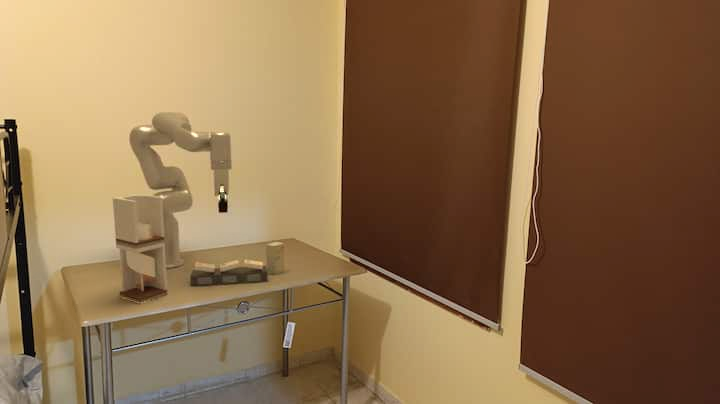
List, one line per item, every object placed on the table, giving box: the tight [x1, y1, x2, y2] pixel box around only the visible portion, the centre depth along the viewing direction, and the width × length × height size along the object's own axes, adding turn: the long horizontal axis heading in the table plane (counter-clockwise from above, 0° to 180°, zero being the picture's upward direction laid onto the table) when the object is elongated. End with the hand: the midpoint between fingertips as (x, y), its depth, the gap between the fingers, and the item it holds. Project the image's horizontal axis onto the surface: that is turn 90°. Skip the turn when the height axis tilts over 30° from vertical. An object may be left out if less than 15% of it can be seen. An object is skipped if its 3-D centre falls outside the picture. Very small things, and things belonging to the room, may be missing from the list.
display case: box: [112, 193, 168, 303], centre depth 164 cm, size 11×11×35 cm
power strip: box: [190, 265, 268, 288], centre depth 184 cm, size 28×8×4 cm, turn 104°
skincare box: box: [266, 241, 285, 276], centre depth 194 cm, size 6×4×12 cm
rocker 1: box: [194, 261, 216, 272], centre depth 181 cm, size 7×4×2 cm, turn 104°
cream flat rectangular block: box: [219, 259, 240, 272], centre depth 183 cm, size 7×4×2 cm, turn 104°
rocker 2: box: [243, 259, 264, 269], centre depth 185 cm, size 7×4×2 cm, turn 104°
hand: (223, 210), depth 181 cm, fingers open, 9 cm apart
